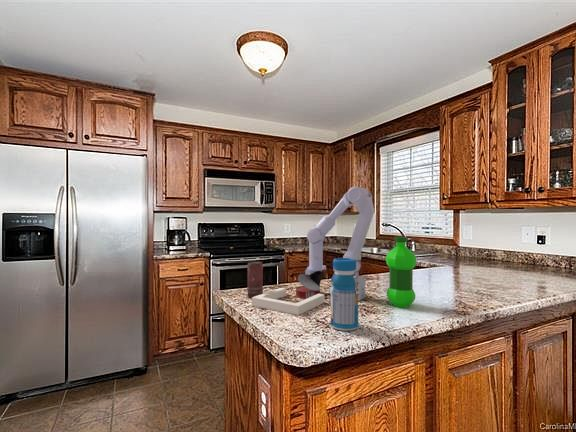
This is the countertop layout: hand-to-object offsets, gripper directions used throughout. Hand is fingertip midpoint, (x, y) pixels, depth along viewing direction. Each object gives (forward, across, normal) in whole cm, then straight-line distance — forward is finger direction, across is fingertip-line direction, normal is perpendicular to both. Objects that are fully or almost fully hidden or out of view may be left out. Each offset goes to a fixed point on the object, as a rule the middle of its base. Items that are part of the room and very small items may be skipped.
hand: (316, 289), depth 136 cm
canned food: (+2, +7, 0) cm, 7 cm away
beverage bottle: (+2, +31, +27) cm, 42 cm away
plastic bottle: (+2, -1, +35) cm, 35 cm away
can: (+2, +20, -17) cm, 26 cm away
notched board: (+1, +21, 0) cm, 21 cm away
